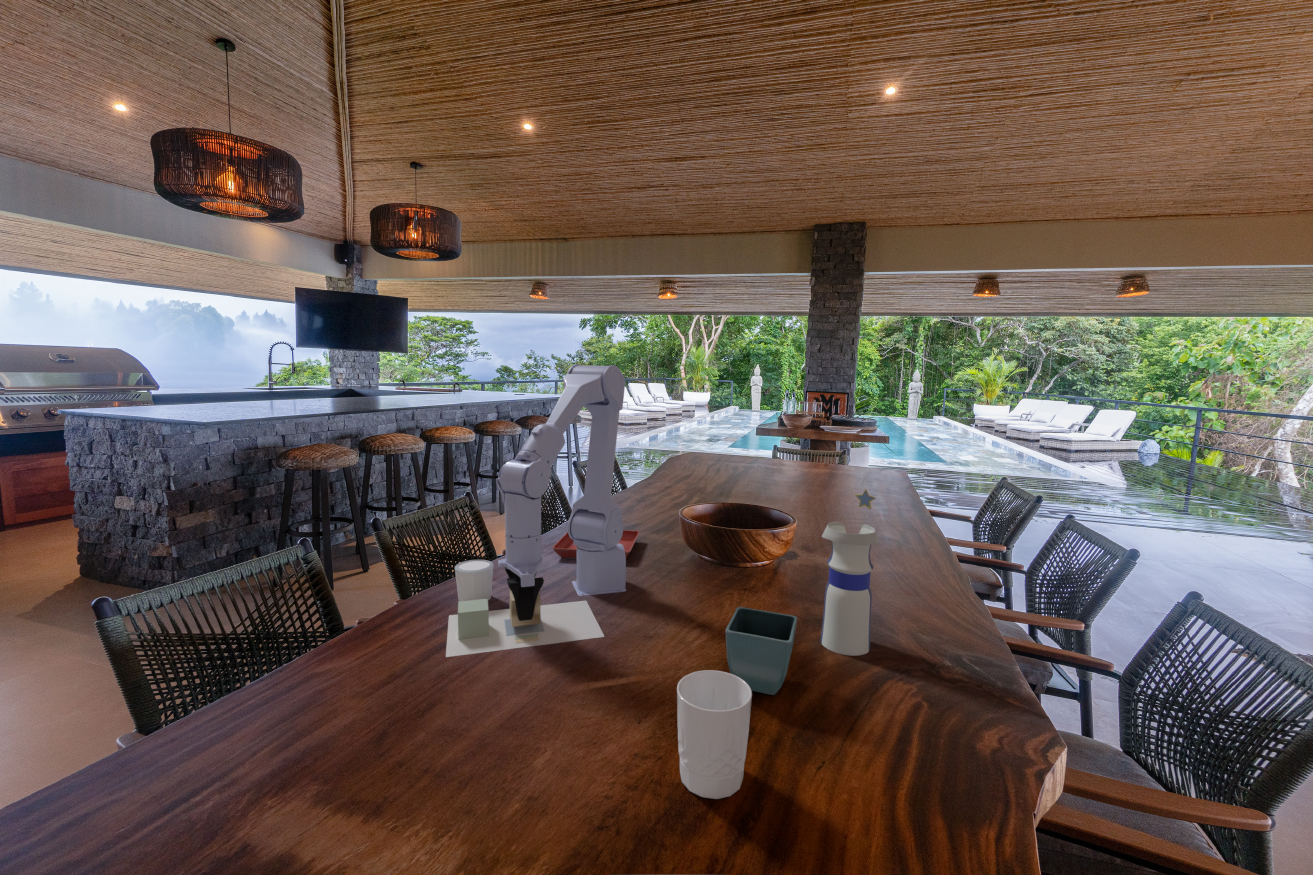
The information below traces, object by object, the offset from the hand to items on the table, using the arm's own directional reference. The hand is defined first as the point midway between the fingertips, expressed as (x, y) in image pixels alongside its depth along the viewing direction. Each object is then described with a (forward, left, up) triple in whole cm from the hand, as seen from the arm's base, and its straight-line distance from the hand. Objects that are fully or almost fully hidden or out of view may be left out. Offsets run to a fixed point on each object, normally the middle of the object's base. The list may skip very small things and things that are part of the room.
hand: (523, 612), depth 95 cm
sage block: (+8, 0, -2) cm, 8 cm away
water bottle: (-49, +19, -3) cm, 53 cm away
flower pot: (-30, +26, -3) cm, 40 cm away
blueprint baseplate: (0, 0, -3) cm, 3 cm away
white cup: (-16, +41, -3) cm, 44 cm away
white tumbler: (+8, -14, -3) cm, 16 cm away
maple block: (0, 0, -1) cm, 1 cm away
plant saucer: (-21, -38, -3) cm, 44 cm away
